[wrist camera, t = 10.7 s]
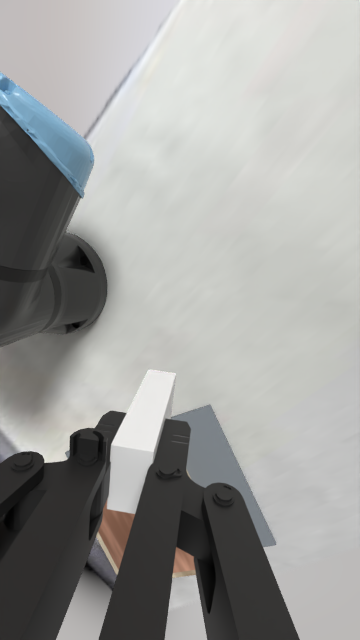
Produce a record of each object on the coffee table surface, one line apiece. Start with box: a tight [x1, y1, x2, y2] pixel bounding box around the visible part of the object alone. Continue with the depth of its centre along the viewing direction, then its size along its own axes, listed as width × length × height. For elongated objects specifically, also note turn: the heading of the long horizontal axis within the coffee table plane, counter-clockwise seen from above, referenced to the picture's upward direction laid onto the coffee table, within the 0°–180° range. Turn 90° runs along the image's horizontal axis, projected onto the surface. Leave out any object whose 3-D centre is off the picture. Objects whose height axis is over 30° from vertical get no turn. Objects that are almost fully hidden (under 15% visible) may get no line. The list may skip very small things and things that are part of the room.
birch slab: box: [96, 469, 196, 578], centre depth 51 cm, size 6×18×16 cm
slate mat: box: [65, 405, 276, 547], centre depth 53 cm, size 28×24×1 cm
